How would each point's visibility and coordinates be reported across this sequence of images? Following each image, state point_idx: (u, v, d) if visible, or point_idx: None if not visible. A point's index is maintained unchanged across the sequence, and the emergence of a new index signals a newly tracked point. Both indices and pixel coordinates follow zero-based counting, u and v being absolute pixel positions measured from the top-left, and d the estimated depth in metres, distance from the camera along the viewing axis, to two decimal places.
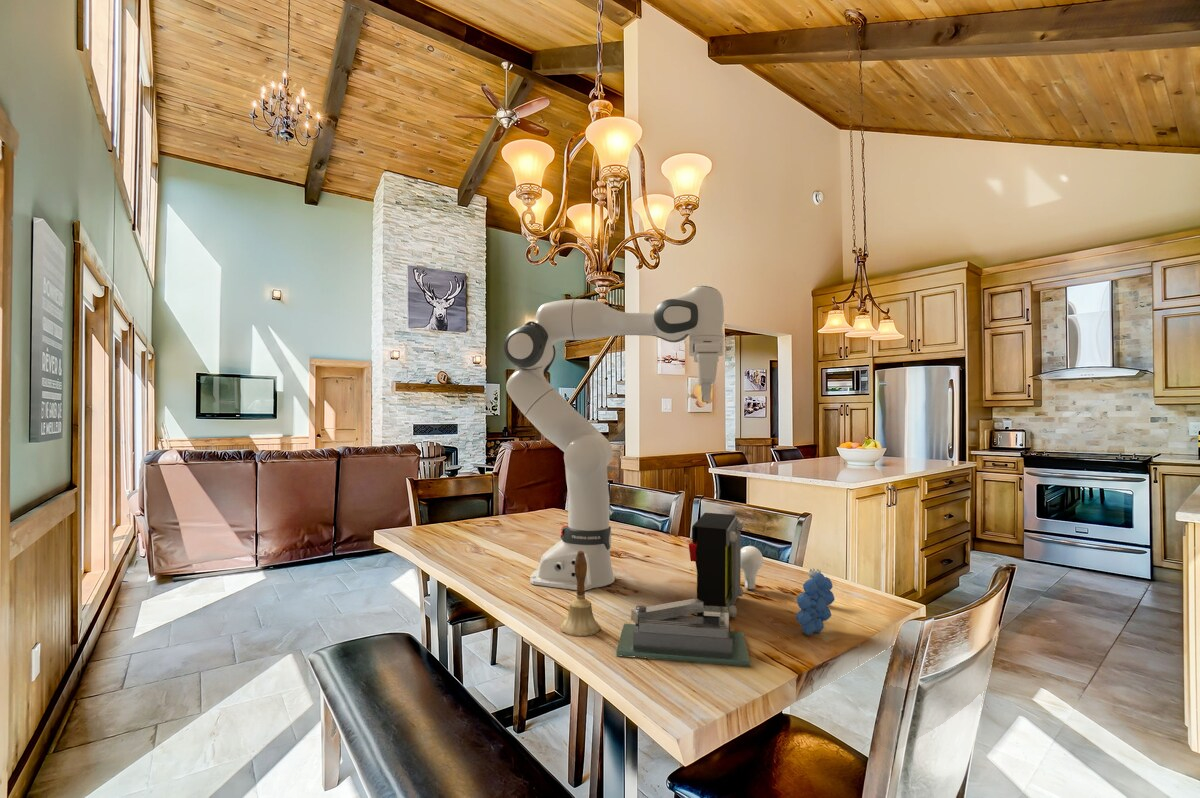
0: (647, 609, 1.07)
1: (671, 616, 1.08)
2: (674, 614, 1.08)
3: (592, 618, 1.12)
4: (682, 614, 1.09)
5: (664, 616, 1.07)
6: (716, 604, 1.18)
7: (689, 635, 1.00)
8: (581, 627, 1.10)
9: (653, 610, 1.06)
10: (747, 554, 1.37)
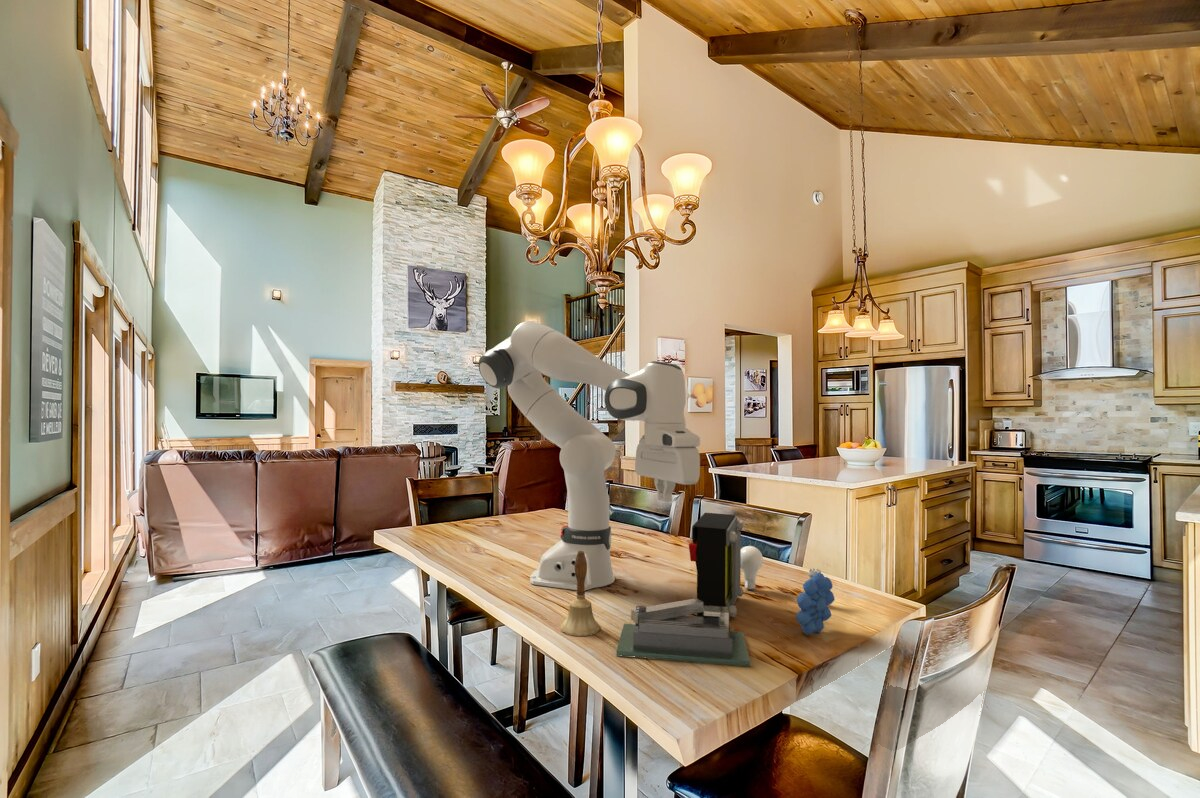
0: (647, 609, 1.07)
1: (671, 616, 1.08)
2: (674, 614, 1.08)
3: (592, 618, 1.12)
4: (682, 614, 1.09)
5: (664, 616, 1.07)
6: (716, 604, 1.18)
7: (689, 635, 1.00)
8: (581, 627, 1.10)
9: (653, 610, 1.06)
10: (747, 554, 1.37)
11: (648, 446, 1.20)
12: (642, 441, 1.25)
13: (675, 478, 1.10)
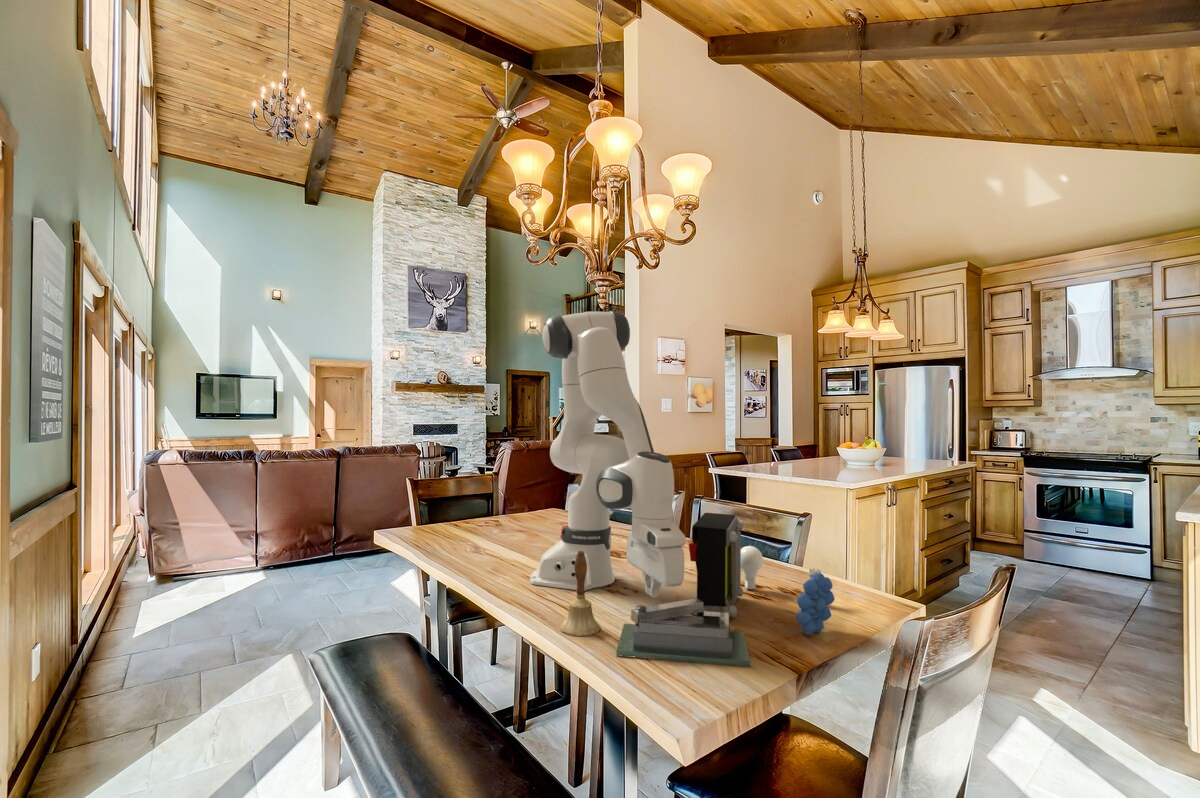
0: (647, 609, 1.07)
1: (671, 616, 1.08)
2: (674, 614, 1.08)
3: (592, 618, 1.12)
4: (682, 614, 1.09)
5: (664, 616, 1.07)
6: (716, 604, 1.18)
7: (689, 635, 1.00)
8: (581, 627, 1.10)
9: (653, 610, 1.06)
10: (747, 554, 1.37)
11: None
12: None
13: (659, 578, 1.08)
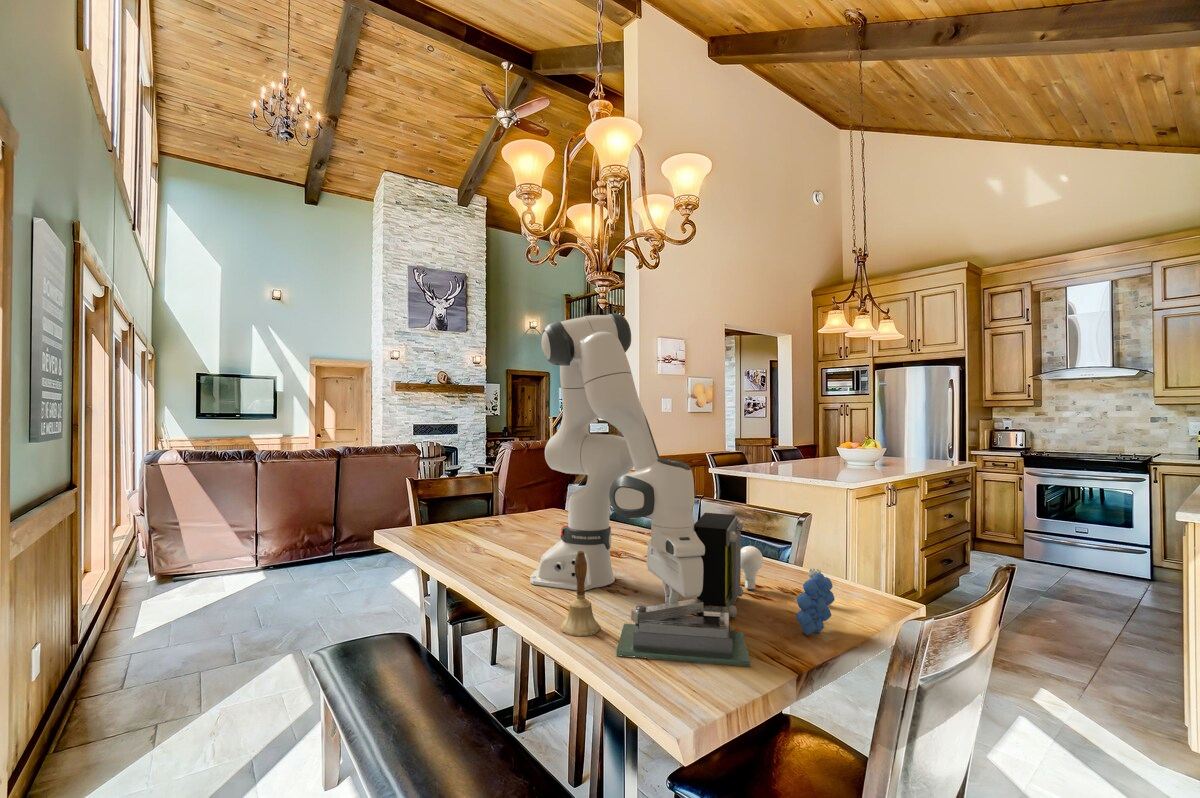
0: (647, 609, 1.07)
1: (671, 616, 1.08)
2: (674, 614, 1.08)
3: (592, 618, 1.12)
4: (682, 614, 1.09)
5: (664, 616, 1.07)
6: (716, 604, 1.18)
7: (689, 635, 1.00)
8: (581, 627, 1.10)
9: (653, 610, 1.06)
10: (747, 554, 1.37)
11: None
12: None
13: (677, 588, 1.05)
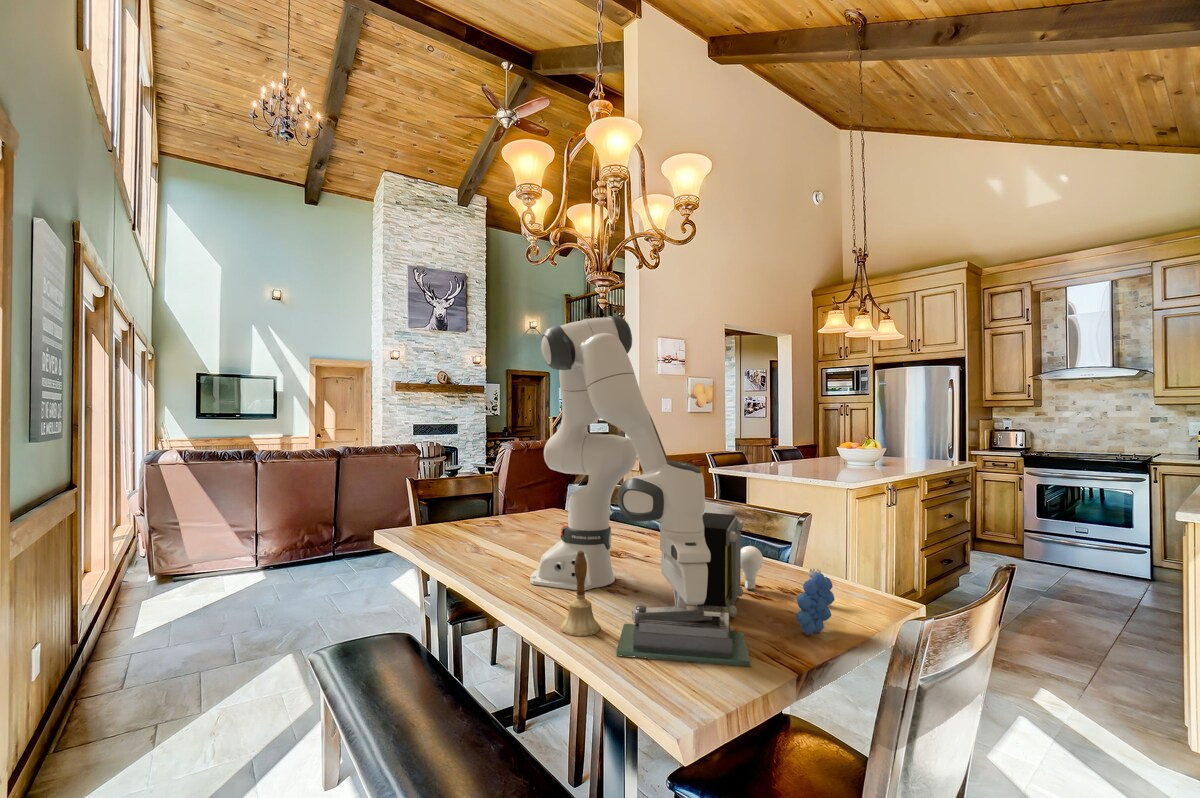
0: (648, 610, 1.06)
1: (673, 620, 1.06)
2: (677, 618, 1.06)
3: (592, 618, 1.12)
4: (686, 619, 1.06)
5: (665, 619, 1.05)
6: (716, 604, 1.18)
7: (689, 635, 1.00)
8: (581, 627, 1.10)
9: (653, 611, 1.05)
10: (747, 554, 1.37)
11: None
12: None
13: (682, 594, 1.03)
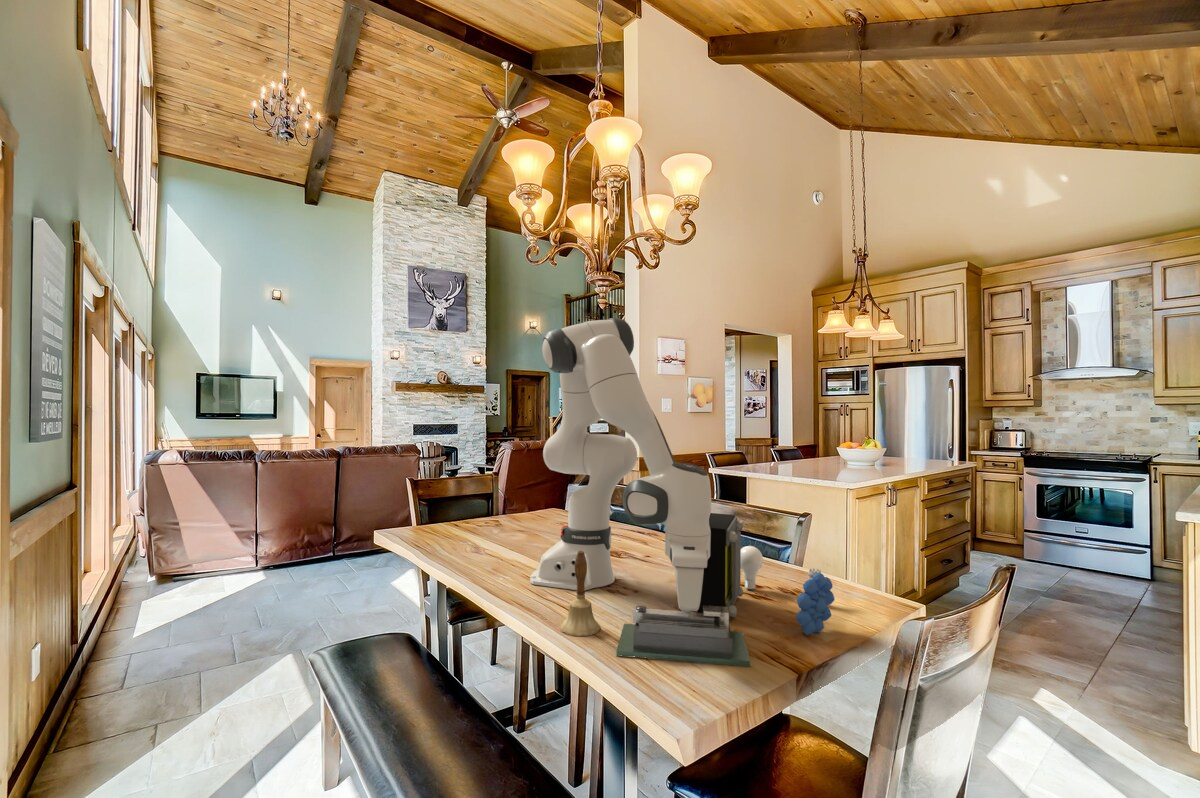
0: (648, 611, 1.06)
1: None
2: None
3: (592, 618, 1.12)
4: None
5: None
6: (716, 604, 1.18)
7: (689, 635, 1.00)
8: (581, 627, 1.10)
9: (652, 613, 1.05)
10: (747, 554, 1.37)
11: None
12: None
13: None
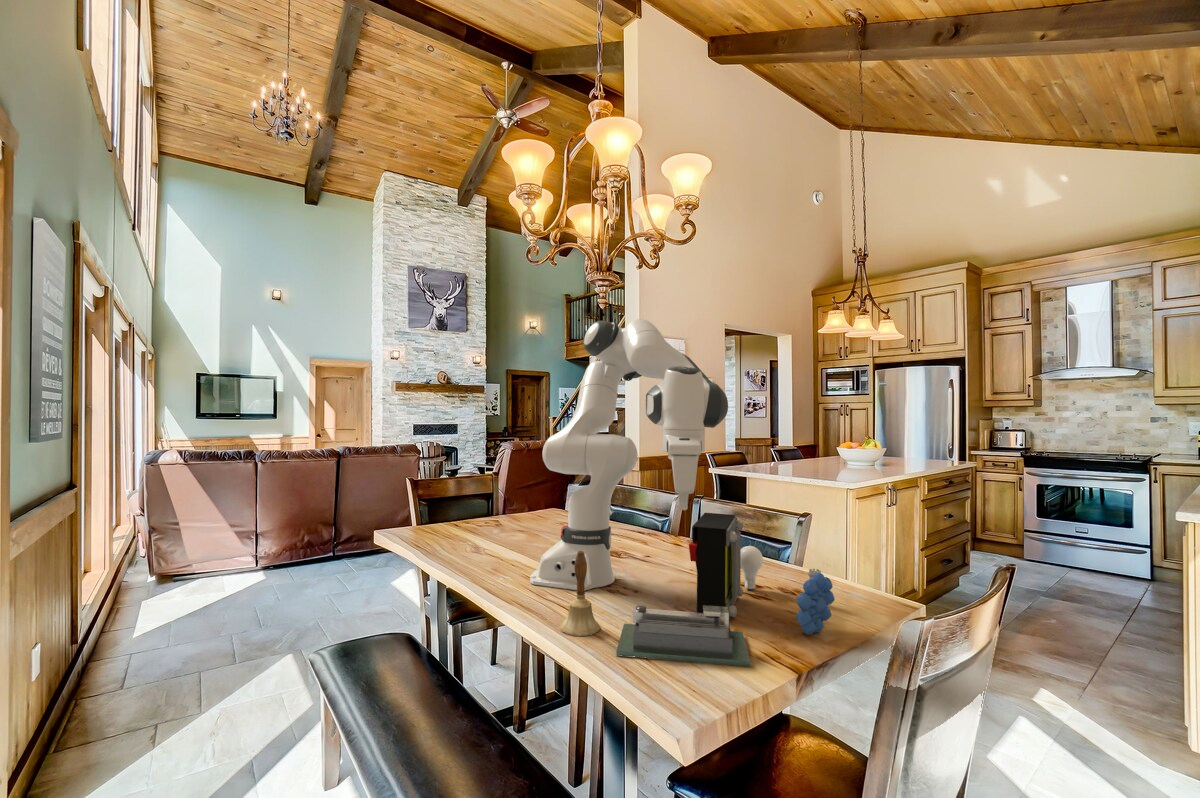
0: (648, 611, 1.06)
1: None
2: None
3: (592, 618, 1.12)
4: None
5: None
6: (716, 604, 1.18)
7: (689, 635, 1.00)
8: (581, 627, 1.10)
9: (652, 613, 1.05)
10: (747, 554, 1.37)
11: None
12: None
13: None
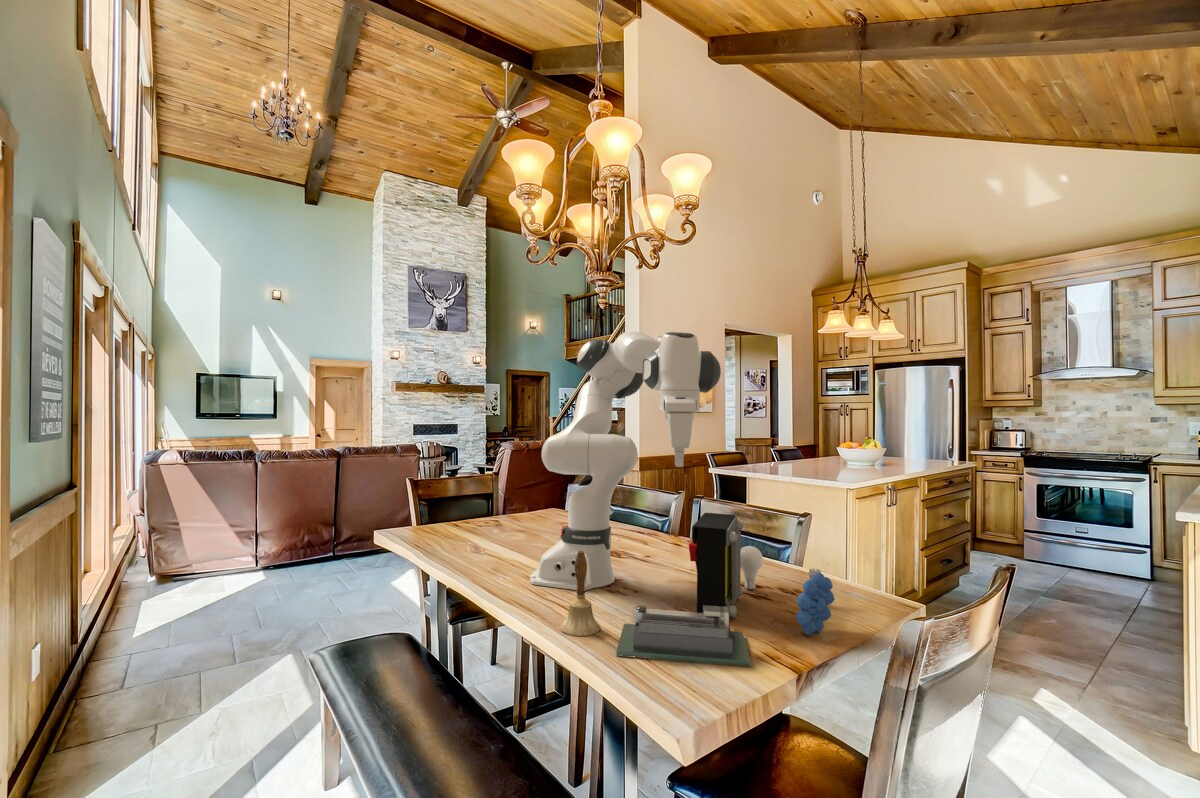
0: (648, 611, 1.06)
1: None
2: None
3: (592, 618, 1.12)
4: None
5: None
6: (716, 604, 1.18)
7: (689, 635, 1.00)
8: (581, 627, 1.10)
9: (652, 613, 1.05)
10: (747, 554, 1.37)
11: None
12: None
13: None
